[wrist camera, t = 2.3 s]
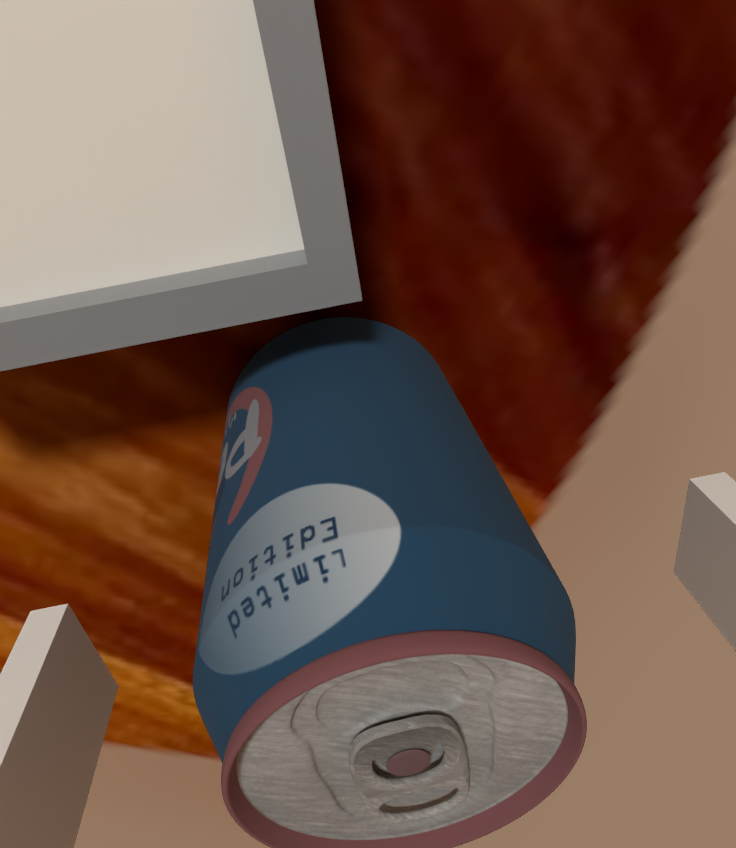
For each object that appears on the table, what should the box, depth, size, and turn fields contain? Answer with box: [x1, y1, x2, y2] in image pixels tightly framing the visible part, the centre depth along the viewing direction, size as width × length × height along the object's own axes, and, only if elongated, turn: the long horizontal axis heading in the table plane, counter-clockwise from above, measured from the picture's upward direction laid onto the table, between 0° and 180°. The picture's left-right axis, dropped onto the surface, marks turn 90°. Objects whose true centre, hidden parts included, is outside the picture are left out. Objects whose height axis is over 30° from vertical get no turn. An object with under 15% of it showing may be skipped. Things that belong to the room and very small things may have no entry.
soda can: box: [193, 317, 587, 848], centre depth 14 cm, size 7×7×12 cm
